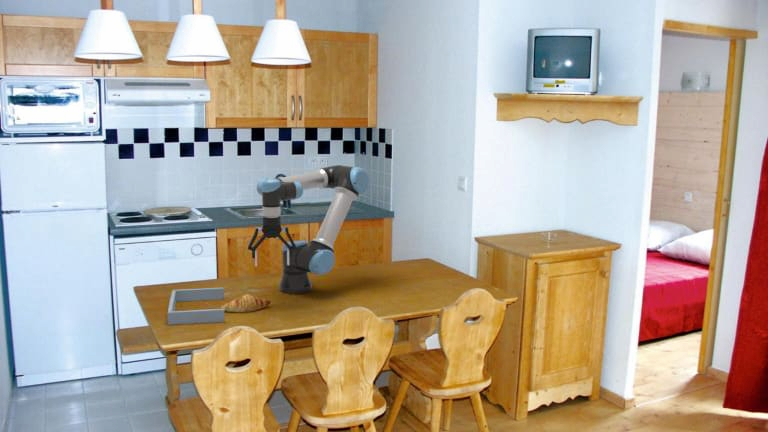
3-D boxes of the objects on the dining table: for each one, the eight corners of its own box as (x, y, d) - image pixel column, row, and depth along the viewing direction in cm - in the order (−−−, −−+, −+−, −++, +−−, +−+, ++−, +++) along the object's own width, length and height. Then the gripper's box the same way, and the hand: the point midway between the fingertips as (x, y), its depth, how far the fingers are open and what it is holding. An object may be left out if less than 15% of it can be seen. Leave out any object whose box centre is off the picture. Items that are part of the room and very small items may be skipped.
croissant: (222, 322, 294) (223, 308, 289) (218, 305, 301) (219, 291, 296) (272, 315, 302) (274, 301, 298) (266, 299, 310) (268, 285, 305)
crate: (223, 298, 315) (223, 287, 314) (224, 321, 283) (224, 309, 283) (172, 300, 310) (172, 289, 309) (167, 324, 278) (167, 312, 278)
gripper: (300, 214, 302) (300, 261, 306) (241, 215, 297) (242, 264, 301) (302, 217, 295) (302, 266, 299) (241, 218, 290) (242, 268, 294)
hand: (272, 265), depth 300 cm, fingers open, 13 cm apart
